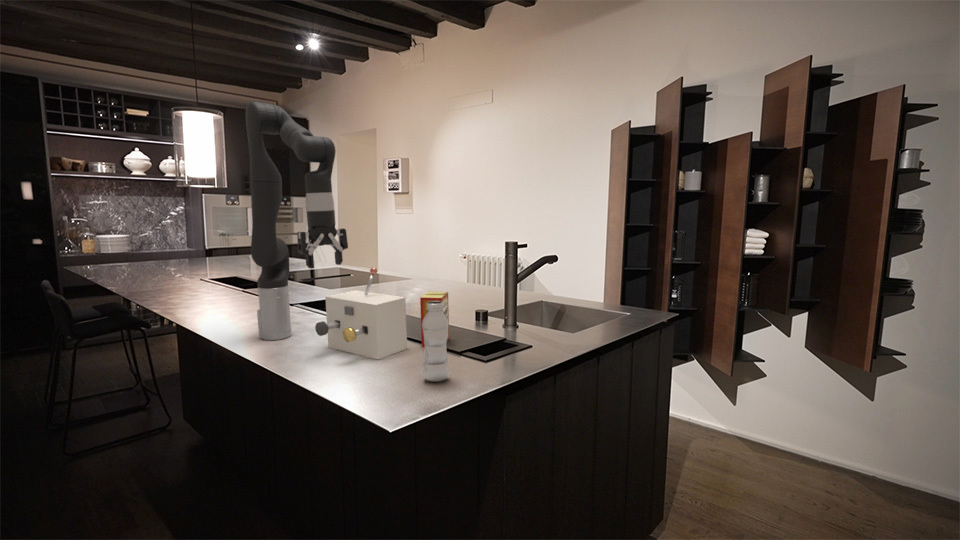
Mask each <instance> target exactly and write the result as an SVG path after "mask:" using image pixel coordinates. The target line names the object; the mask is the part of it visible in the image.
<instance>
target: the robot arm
mask: <svg viewBox="0 0 960 540" xmlns="http://www.w3.org/2000/svg"><path fill="white" fill-rule="evenodd" d="M245 125H246V133H247V140H248V141H247V144H248V153H249V178H250V179H249V180H250V197H251V217H252V218H251V220H252V223H251V224H252V225H251V226H252V227H251V228H252V229H251V242H250V243H251V244H250V255H251V259H252V261H253V262H254V264H256V265H257V266H258V267H260V268H261V271H260V275H259V276H258V278H257V291H258V292H257V293H258V304H259V309H258V310H256V315H257V317H256V318H257V326H258V327H257V329H258V338H259V339H262V340H265V341H277V340H282V339H283V340H284V339H287V338H289V337H291V336H292V323H291V319H292V318H291V307H290V295H289V277H290V253H289V248H288V244H286V241H284V239H281V238H279V237H277V220H278V219H277V218H278V215H279V212H280V210H281V205H282V201H283V200H282V199H283V181H282V180H283V179H282V175H281V173H280V171H279V169H278V167H277V166H276V164H275V163H274V161H273V160H272V158H271V157H270V155H269V154H268V151H267V149H266V146H265V141H264V138H263V134H265V135H272V136H273V135H280V139H281V141H282V143H284V144H285V145H286V146H287V147H289V148H290V149H291V150H292V151H293V152H294V155H295V156H296V158H297V159H298V160H299V161H300V162H304V163H317V164H318V166H317V167H318V168H317V169H316V170H312V171H308V172H306V173H305V174H304V185H305V186H304V188H305V208H306V211H305V212H306V219H307V227H308V229H307V231H297V233H296V234H297V236H296V237H297V253H299V254H301V255H304V256H305V265H306V267H307V268H308V269H315V260H314V255H313V254H314V252H315V250H317V248H318V247H321V246H331V247H332V248H333V250H334V262H335V265H337V266H338V265H339V266H342V263H343V261H344V260H343V259H344V258H343V252H344V250H347V249H348V248H349V243H348V237H347V229H346V228H343V227H342V228H336V212H335V202H334V196H333V186H332V184H333V183H332V174H333V170H334V169H333V168H334V163H335V158H336V150H337V149H336V146H335V143H334V142H333V140H332V139H331V138H329V137H326V136H316V135H315V136H314V134H313V133H312V132H311V131H310V130H308V128H307V129H306V128H305V127H303V126H301V125H300V124H299V123H297V122H296V121H295V120H294V119H293V118H292V117H291V116H290V115H289V114H288V112H287V111H286V110H284V108H283V107H281V106H279V105H276V104H272V103H264V102H260V101H249V102H248V103H247V105H246V107H245ZM336 236H338V239H336ZM308 238H309V242H308V243H307V239H308Z"/></svg>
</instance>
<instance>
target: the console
mask: <svg viewBox="0 0 960 540" xmlns="http://www.w3.org/2000/svg"><path fill="white" fill-rule="evenodd" d="M364 293H365V291H362V290H358V289H357V290H356V289H355V290H351V291H347V292H341V293H337V294H332V295H326V296H325V298H324V299H325V310H326V312H325V314H326V324H330V323H334V322H338V321H339V322H340V326H339V327H336V328H332V329H329V330H328V333H327V343H328V344H327V345H328V348H330V349H335V350H338V351H339V350H340V351H341V352H347V353H350V354H354V355H359V356H362V357H366V358H371V359H373V360H374V359H375V360H377V361H379V360H380V359H383V358H386V357H389V356H392V355H394V354H396V353H399V352H402V351H405V350H407V349H408V335H407V331H408V330H407V305H406V301H407V300H406V297H405V296H398V295H392V294H383V293H377V292H372V291H371V292H370V291H369V292H368V295H367V296H366V295H365V294H364ZM348 327H352V328H353V329H354V330H357V329H360V328H364V327H367V328H368V332H366V333H363V334H360V335H356V339H355V340H354V341H352V342H346V341H345V340H344V338H343V335H342V333H343V330H344V329H345V328H348Z"/></svg>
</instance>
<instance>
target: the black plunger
mask: <svg viewBox="0 0 960 540" xmlns="http://www.w3.org/2000/svg"><path fill="white" fill-rule="evenodd" d="M339 326H340V322H339V321H338V322H334V323H330V324H327V321H323V320H322V321H319V322H316V324H315V326H314V327H315V332H316V334H317V335H318V336H319V337H321V336H324V335H325V336H326V335H328V330H329V329H332V328H336V327H339Z"/></svg>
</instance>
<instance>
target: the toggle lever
mask: <svg viewBox="0 0 960 540" xmlns="http://www.w3.org/2000/svg"><path fill="white" fill-rule="evenodd" d="M369 273H370V276H369V279H368V281H367V284H366V288H365V291H364V292H365V293H364V294H365V295H366V296H367V295H368V292H370V289H371V286H372V283H373V280H374V277H375V275H376V274H377V273H378V268H376V267H371V268H370V269H369Z"/></svg>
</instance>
